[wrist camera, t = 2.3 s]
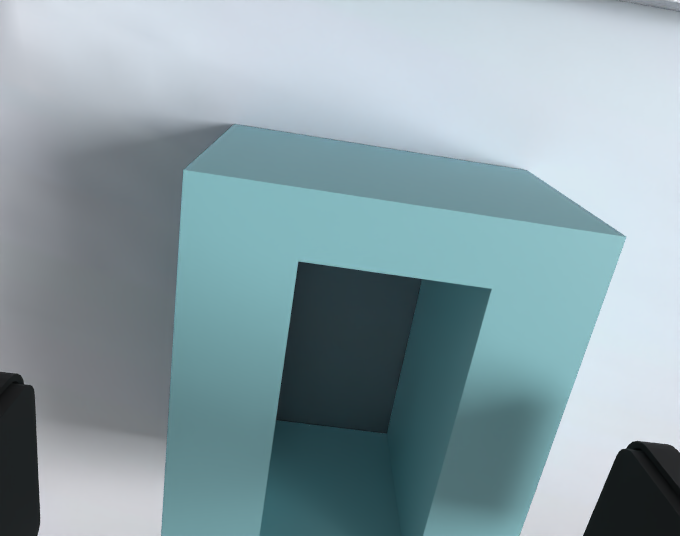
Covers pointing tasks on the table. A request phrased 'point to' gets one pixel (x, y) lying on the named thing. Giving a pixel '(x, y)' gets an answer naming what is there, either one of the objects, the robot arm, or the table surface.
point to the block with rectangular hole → (421, 352)
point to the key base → (659, 3)
